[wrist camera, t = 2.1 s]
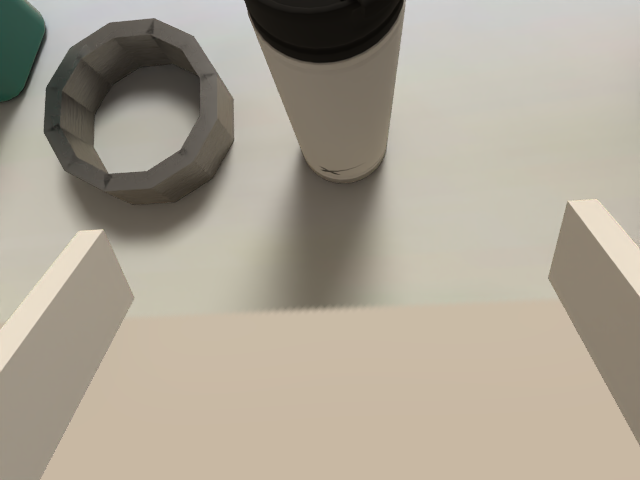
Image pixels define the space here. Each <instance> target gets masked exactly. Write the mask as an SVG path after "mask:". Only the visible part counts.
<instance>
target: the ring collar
mask: <svg viewBox="0 0 640 480" xmlns="http://www.w3.org/2000/svg"><path fill="white" fill-rule="evenodd" d="M168 64H174V65H176V66H178V67H180V68H182V69H184V70H186V71H189V72H191V73H193V74H195V75H197V76H199V78H200V116H199V118H198V120H197V122H196V123H195V125H194V127H193V129H192V131H191V132H190V134H189V136H188V138H187V139H186V141H185V143H184V145H183V146H182V148H181V150H179V151H178V152H176V153H175V154H173V155H172V156H170V157H168V158H167V159H165V160H164V161H162V162H161V163H159V164H158V165H156V166H154V167H153V168H151V169H150V170H148V171H144V172H130V173H115V174H108V172H107V170H106V168H105V167H104V165H103V163H102V161H101V159H100V158H99V156H98V154H97V152H96V151H95V149H94V147H93V141H94V114H95V112H96V111H97V109H98V107H99V106H100V104H101V102H102V101H103V99H104V97H105V96H106V94H107V92H108V90H109V89H110V87H111V85H113V84H114V83H116V82H117V81H119V80H121V79H122V78H124V77H125V76H127V75H128V74H130V73H131V72H133V71H135V70H136V69H138V68H139V67H145V66H156V65H168ZM44 134H45V136H46V137H47V139H48V141H49V143H50V145H51V147H52V149H53V150H54V152H55V154H56V156H57V158H58V160H59V162H60V163H61V165H62V167H63V169H64V170H65V171H66V172H68V173H70V174H72V175H74V176H76V177H77V178H79V179H81V180H83V181H85V182H87V183H89V184H91V185H93V186H94V187H96V188H98V189H100V190H102V191H104V192H106V193H108V194H110V195H113V196H115V197H117V198H119V199H121V200H123V201H126V202H128V203H130V204H132V205H138V204H154V203H170V202H176V201H178V200H180V199H181V198H183V197H184V196H186V195H187V194H189V193H190V192H192V191H194V190H195V189H197V188H198V187H200V186H201V185H203V184H205V183H206V182H208V181H209V180H211V179H212V178H213V177H214V175H215V173H216V171H217V170H218V168H219V166H220V164H221V162H222V161H223V159H224V157H225V155H226V153H227V152H228V150H229V148H230V146H231V144H232V143H233V141H234V107H233V97H232V96H231V94H230V93H229V91H228V89H227V88H226V86H225V85H224V83H223V81H222V80H221V78H220V76H219V75H218V73H217V72H216V70H215V69H214V67H213V65H212V64H211V62H210V61H209V59H208V58H207V56H206V55H205V53H204V51H203V50H202V48H201V47H200V45H199V44H198V42H197V41H196V39H195V38H194V36H192V35H190V34H188V33H186V32H183V31H181V30H179V29H177V28H174V27H172V26H170V25H168V24H166V23H163V22H161V21H159V20H157V19H155V18H152V19H142V20H132V21H122V22H112V23H108V24H107V25H105V26H104V27H102V28H100V29H99V30H97V31H96V32H94V33H93V34H91V35H90V36H88V37H86V38H85V39H83V40H82V41H80V42H79V43H77V44H75V45H74V46H72V47H71V48H70V49H69V51H68V52H67V54H66V56H65V57H64V59H63V61H62V62H61V64H60V66H59V67H58V69H57V70H56V72H55V74H54V75H53V77H52V79H51V80H50V82H49V84H48V85H47V87H46V99H45V117H44Z"/></svg>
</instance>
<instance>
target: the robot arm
mask: <svg viewBox="0 0 640 480" xmlns="http://www.w3.org/2000/svg"><path fill="white" fill-rule="evenodd" d="M548 279H549V281H550V282H551V284H552V286H553V288H554V290H555V292H556V293H557V295H558V297H559V299H560V301H561V303H562V304H563V306H564V308H565V310H566V311H567V313H568V315H569V317H570V319H571V321H572V323H573V324H574V326H575V328H576V330H577V332H578V334H579V335H580V337H581V339H582V341H583V343H584V344H585V346H586V348H587V350H588V352H589V354H590V355H591V357H592V359H593V361H594V363H595V365H596V367H597V368H598V370H599V372H600V374H601V376H602V378H603V379H604V381H605V383H606V385H607V386H608V388H609V390H610V392H611V394H612V396H613V398H614V399H615V401H616V403H617V405H618V407H619V409H620V410H621V412H622V414H623V416H624V417H625V420H626V421H627V423H628V425H629V427H630V428H631V430H632V432H633V434H634V436H635V438H636V440H637V441H638V443H639V445H640V248H639V247H638V246H637V245H636V244H635V242H634V241H633V240H632V239H631V238H630V237H629V235H628V234H627V233H626V232H625V231H624V230H623V228H622V227H621V226H620V225H619V224H618V223H617V221H616V220H615V219H614V218H613V217H612V216H611V214H610V213H609V212H608V211H607V210H606V209H605V207H604V206H603V205H602V204H601V203H600V202H599V200H598V199H589V200H572V201H567V205H566V209H565V213H564V217H563V221H562V225H561V229H560V233H559V237H558V241H557V245H556V249H555V253H554V257H553V261H552V265H551V269H550V273H549V277H548ZM133 300H134V296H133V294H132V291H131V289H130V287H129V285H128V282H127V280H126V278H125V276H124V274H123V271H122V269H121V267H120V265H119V263H118V260H117V258H116V256H115V254H114V251H113V249H112V247H111V245H110V243H109V240H108V238H107V236H106V234H105V231H104V229H101V230H84V231H78V233H77V234H76V235H75V236H74V238H73V239H72V240H71V241H70V243H69V244H68V245H67V246H66V248H65V249H64V250H63V251H62V253H61V254H60V255H59V256H58V258H57V259H56V260H55V261H54V263H53V264H52V265H51V267H50V268H49V269H48V270H47V272H46V273H45V274H44V275H43V277H42V278H41V279H40V280H39V282H38V283H37V284H36V285H35V287H34V288H33V289H32V290H31V292H30V293H29V294H28V296H27V297H26V298H25V299H24V301H23V302H22V303H21V304H20V306H19V307H18V308H17V309H16V311H15V312H14V313H13V314H12V316H11V317H10V318H9V319H8V321H7V322H6V323H5V324H4V326H3V327H2V328H1V330H0V480H40V479H41V477H42V475H43V473H44V471H45V469H46V467H47V465H48V463H49V461H50V459H51V457H52V456H53V454H54V452H55V450H56V448H57V446H58V444H59V442H60V440H61V438H62V436H63V434H64V432H65V431H66V428H67V427H68V425H69V422H70V421H71V419H72V417H73V415H74V413H75V411H76V409H77V407H78V406H79V404H80V402H81V400H82V398H83V396H84V394H85V392H86V390H87V388H88V386H89V384H90V382H91V381H92V379H93V377H94V375H95V373H96V371H97V369H98V367H99V365H100V363H101V361H102V359H103V357H104V355H105V354H106V352H107V350H108V348H109V346H110V344H111V342H112V340H113V338H114V336H115V334H116V332H117V331H118V329H119V327H120V325H121V323H122V321H123V319H124V317H125V315H126V313H127V311H128V309H129V307H130V306H131V304H132V302H133Z"/></svg>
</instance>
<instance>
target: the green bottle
mask: <svg viewBox="0 0 640 480" xmlns="http://www.w3.org/2000/svg"><path fill="white" fill-rule="evenodd" d="M44 34H45V22H44V20H43V18H42V16H41V14H40V12H39V11H38V10H37V9H36V8H35V7H34V6H32V5H31V4H30V3H29V2H28V1H27V0H0V102H4V101H9V100H11V99H12V98H14V97H16V96H18V94H19V93H20V92H21V91H22V90H23V89H24V87H25V84H26V81H27V79H28V76H29V73H30V71H31V68H32V65H33V63H34V60H35V57H36V55H37V52H38V49H39V47H40V44H41V41H42V39H43V36H44Z"/></svg>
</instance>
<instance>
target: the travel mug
mask: <svg viewBox="0 0 640 480" xmlns="http://www.w3.org/2000/svg"><path fill="white" fill-rule="evenodd" d="M244 1H245V3H246V7H247V10H248V15H249V18H250V21H251V23H252V25H253V28H254V31H255V33H256V36H257V38H258V41H259V44H260V46H261V49H262V51H263V54H264V56H265V59H266V61H267V64H268V66H269V69H270V71H271V74H272V77H273V79H274V82H275V84H276V87H277V89H278V92H279V94H280V97H281V99H282V102H283V104H284V107H285V110H286V112H287V115H288V117H289V120H290V122H291V125H292V127H293V130H294V132H295V135H296V137H297V140H298V143H299V145H300V148H301V150H302V153H303V155H304V158H305V160H306V162H307V164H308V165H309V167H310V168H311V169H312V170H313V171H314V172H315V173H316V174H317V175H318V176H320V177H322V178H323V179H325V180H328V181H331V182H335V183H351V182H356V181H359V180H361V179H363V178H365V177H367V176H368V175H370V174H371V173H372V172H373V171H374V170H375V169H376V168H377V167H378V166H379V165H380V163H381V161H382V160H383V157H384V155H385V152H386V147H387V140H388V133H389V125H390V118H391V110H392V103H393V95H394V88H395V80H396V72H397V65H398V57H399V50H400V42H401V35H402V27H403V20H404V12H405V2H406V0H244Z"/></svg>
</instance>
